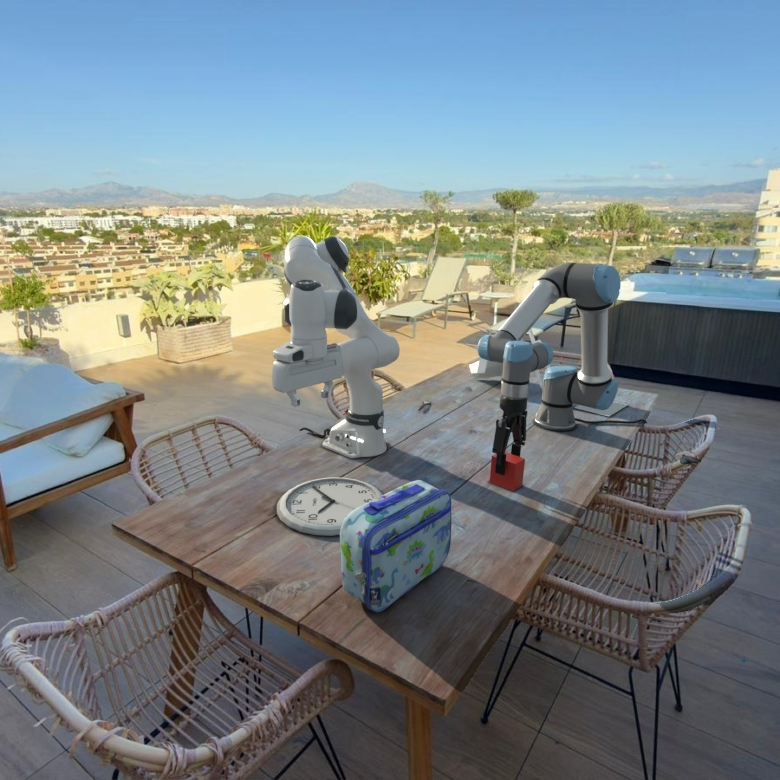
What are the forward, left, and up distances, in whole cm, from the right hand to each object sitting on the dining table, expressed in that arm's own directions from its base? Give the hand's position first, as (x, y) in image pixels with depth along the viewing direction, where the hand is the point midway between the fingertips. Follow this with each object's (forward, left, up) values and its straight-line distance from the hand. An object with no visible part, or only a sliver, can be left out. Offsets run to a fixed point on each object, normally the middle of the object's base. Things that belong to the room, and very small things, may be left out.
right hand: (507, 468), depth 155 cm
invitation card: (-48, -79, -5) cm, 92 cm away
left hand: (+53, +22, +25) cm, 63 cm away
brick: (0, 0, -5) cm, 5 cm away
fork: (+28, -67, -5) cm, 73 cm away
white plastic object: (-11, -104, -5) cm, 105 cm away
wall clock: (+49, +20, -5) cm, 53 cm away
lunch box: (+27, +50, -5) cm, 57 cm away
